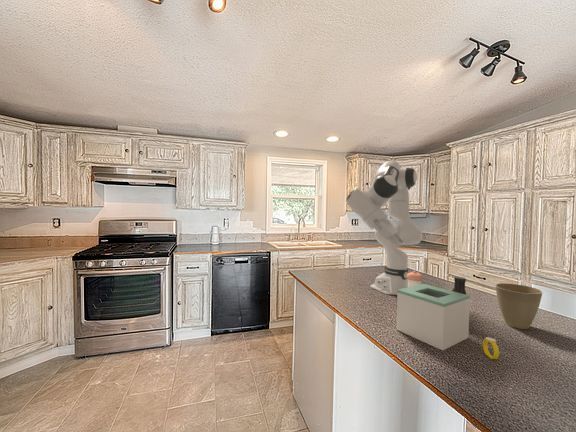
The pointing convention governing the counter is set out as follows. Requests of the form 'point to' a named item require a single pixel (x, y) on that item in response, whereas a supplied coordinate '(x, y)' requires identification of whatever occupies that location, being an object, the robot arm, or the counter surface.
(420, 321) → the recycling bin
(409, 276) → the pepper shaker
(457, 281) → the sauce bottle
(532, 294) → the plant pot
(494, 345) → the watch
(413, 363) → the counter surface
